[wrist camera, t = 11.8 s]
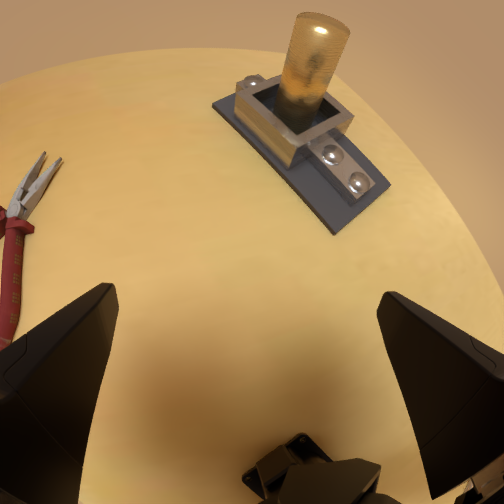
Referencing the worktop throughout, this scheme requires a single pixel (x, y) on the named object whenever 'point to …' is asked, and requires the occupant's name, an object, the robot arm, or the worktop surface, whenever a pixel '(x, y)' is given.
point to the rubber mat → (314, 176)
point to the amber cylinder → (308, 68)
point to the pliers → (18, 244)
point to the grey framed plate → (302, 136)
